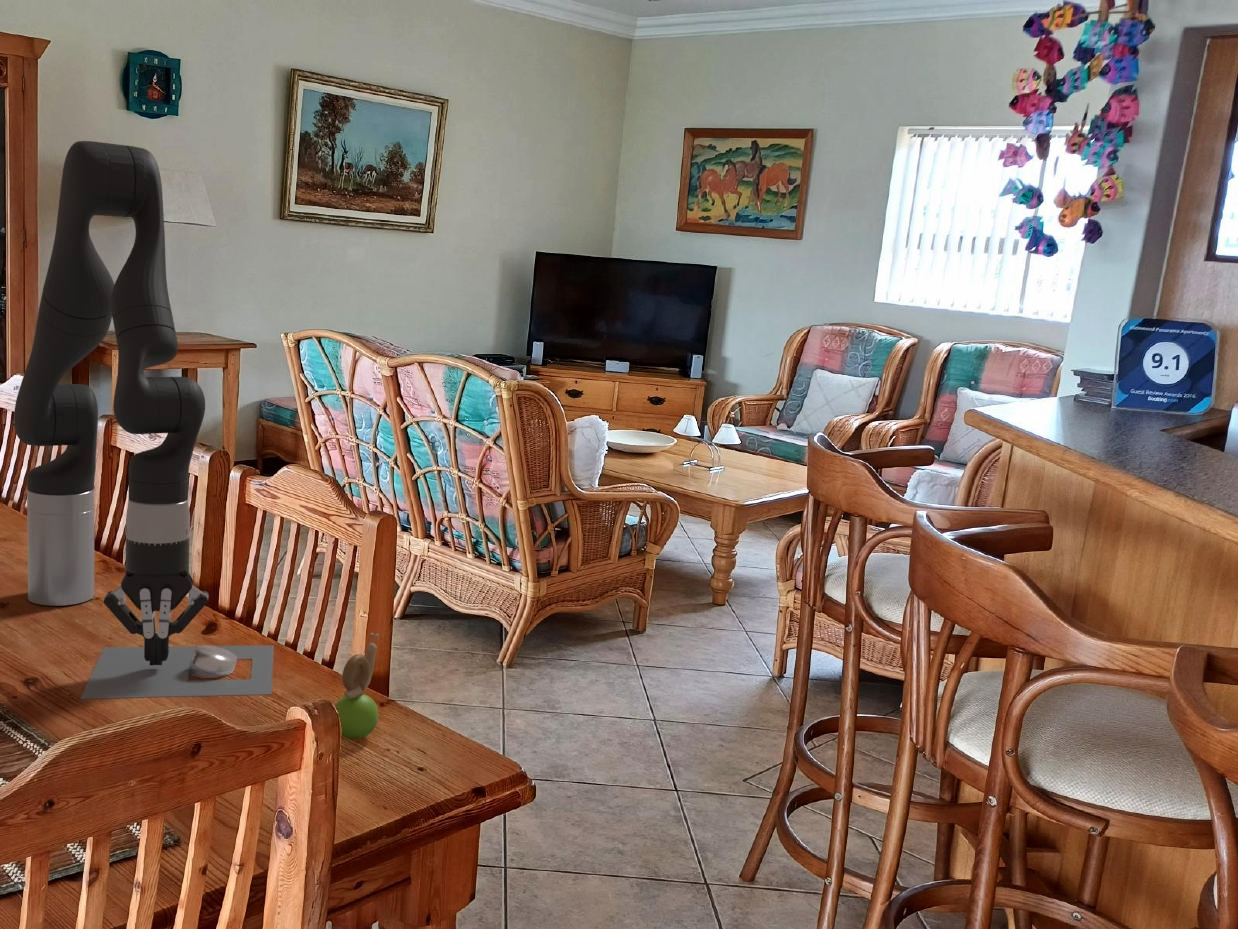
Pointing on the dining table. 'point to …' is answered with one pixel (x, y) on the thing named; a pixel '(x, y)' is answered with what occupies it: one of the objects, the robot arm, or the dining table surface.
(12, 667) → the dining table surface
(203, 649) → the silver rounded puck
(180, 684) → the charcoal board
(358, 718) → the green toy figure
